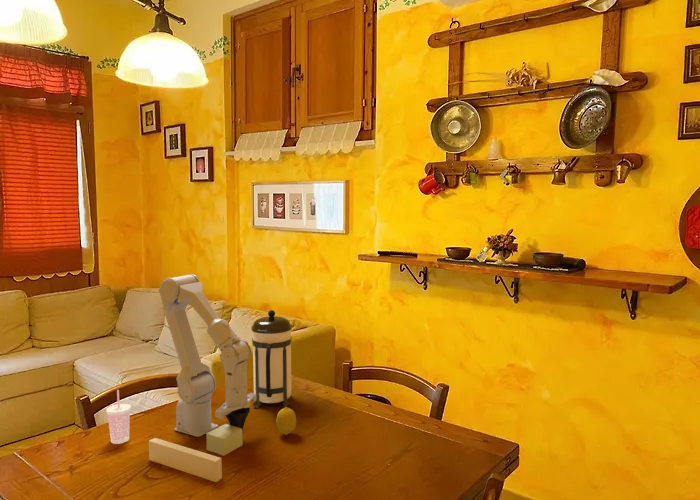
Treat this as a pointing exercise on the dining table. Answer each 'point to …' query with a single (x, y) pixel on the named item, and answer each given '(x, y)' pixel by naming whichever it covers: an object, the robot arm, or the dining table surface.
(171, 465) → the board
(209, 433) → the block
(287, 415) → the lemon
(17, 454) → the dining table surface
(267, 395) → the coffee press
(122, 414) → the beverage cup
